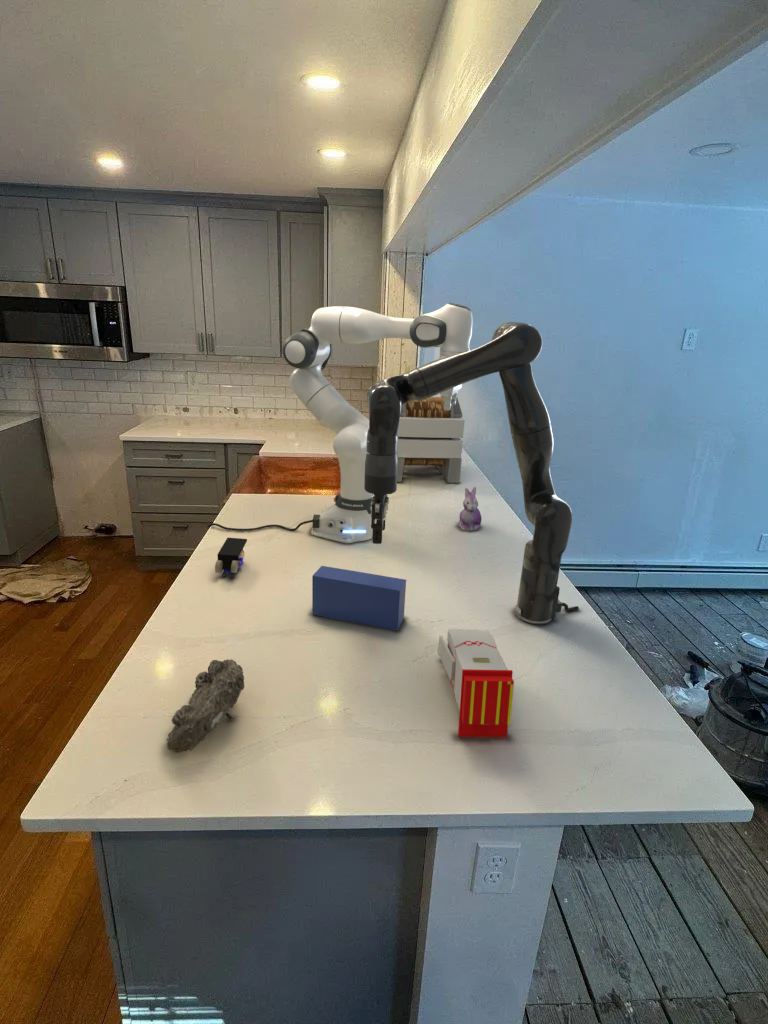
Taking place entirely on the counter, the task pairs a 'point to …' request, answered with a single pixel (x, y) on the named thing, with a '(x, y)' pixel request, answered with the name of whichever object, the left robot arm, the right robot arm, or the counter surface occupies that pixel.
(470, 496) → the figurine
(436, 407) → the grey slatted crate
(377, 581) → the box
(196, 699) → the fossil
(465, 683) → the toy
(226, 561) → the figurine character
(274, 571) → the counter surface
